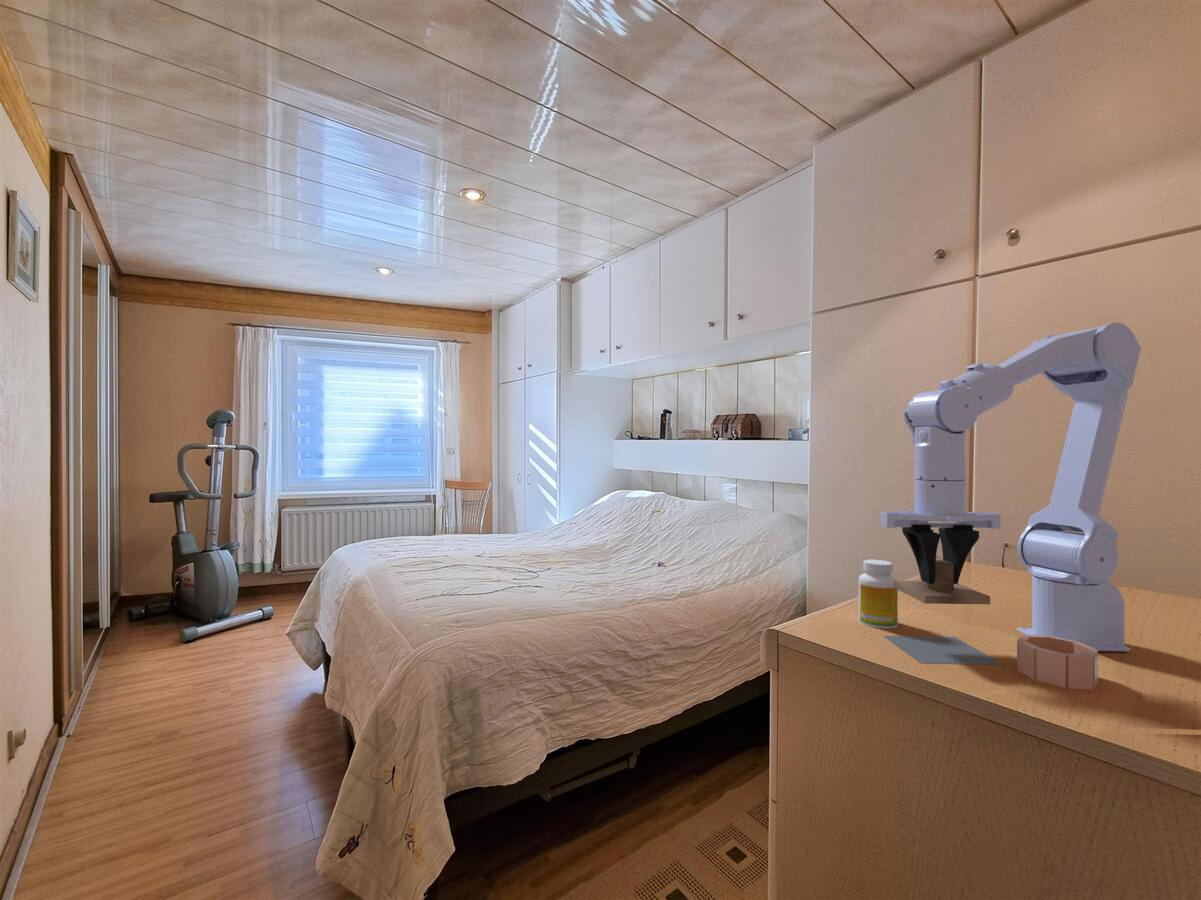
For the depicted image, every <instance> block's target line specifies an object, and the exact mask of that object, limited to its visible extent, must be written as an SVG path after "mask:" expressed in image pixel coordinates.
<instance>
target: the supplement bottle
mask: <svg viewBox="0 0 1201 900" xmlns="http://www.w3.org/2000/svg"><path fill="white" fill-rule="evenodd" d="M863 571H864V573H862V574H860V575H859V577H858V583H857V584H858V598H857V599H858V600H857V601H858V603H857V605H858V606H857V608H858V609H857V612H858V613H857V616H858V622H859V623H860V624H861V625H864V626H866V627H870V628H871V627H872V628H877V629H895V628H897V627H898V623H899V622H898V619H899V617H898V613H899V611H898V609H899V608H898V606H899V605H898V603H899V599H898V597H899V596H898V594H899V593H898V592H899V590H897V589H895V588H894V581H898V580H897V578H896V577H894V576H893V575H892V574H893V563H892V562H890V561H888V560H881V559H864V560H863Z"/></svg>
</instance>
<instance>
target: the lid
mask: <svg viewBox="0 0 1201 900" xmlns="http://www.w3.org/2000/svg"><path fill="white" fill-rule="evenodd" d="M894 588H895V589H897V590H898V592H899V591H900V592H901V593H903V594H904V595H905V594H906V595H907V596H909V597H911V598H914V599H916V600H917V601H919V602H921V603H923V604H924V605H925V604H936V605H940V604H941V605H942V604H943V605H991V595H988V594H985V593H983V592H980V591H977V590H975V589H972V588H970V587H968V586H965V585H963V584H960V583H958V584H954V564H953V563H950V562H947V561H945V560H943V559H936V578H935V582H934V584H929V583H926V582H924V581H922V580H897V581H894Z"/></svg>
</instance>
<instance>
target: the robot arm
mask: <svg viewBox="0 0 1201 900" xmlns="http://www.w3.org/2000/svg"><path fill="white" fill-rule="evenodd" d="M1141 350H1142V347H1141V345H1140V344H1139V341H1138V340H1137V338H1136V336H1135V334H1134V332H1133V331H1132V330H1131V328H1130V327H1128V326H1127V325H1126V324H1124V323H1121V322H1112V323H1107V324H1105V325H1102V326H1096V327H1090V328H1087V329H1081V330H1077V331H1070V332H1065V333H1061V334H1051V335H1046V336H1045V337H1043V338H1041V339H1037V340H1035V341H1033V342H1031V345H1029V346H1028V347H1026V348H1024V349H1022V350H1021V351H1019V352H1018V353H1016V354H1014V355H1013V356H1011V357H1010V358H1008V359H1007V360H1005V361H1003V362H1001V363H1000V364H998V365H997V364H993V363H982V362H979V363H978V362H977V363H973V364H971V365H969V366H967V367H965V369H966V372H964V373H963V374H962V375H959V376H957V377H956V378H953V379H951V378H950V379H945V380H943V381H941V382H940V383H939V387H938V388H937V389H934V390H928V391H927V390H926V391H921V392H920V393H917V394H915V395H914V397H912V398H911V400H910V401H909V404H908V406H907V409H906V411H903V418H904V421H905V424H906V426H907V427H908V428H909V430H910V435H911V442H912V443H913V445H914V510H905V511H903V510H901V511H880V516H879V517H880V522H879V523H880V524H879V525H880V526H881V527H883V528H886V529H895V528H901V529H902V533H903V536H904V537H905V539H906V541H907V543H908V544H909V546H910V548H911V550H912V553H913V555H914V558H915V560H916V561H915V562H916V564H917V567H918V572H919V577H920V581H924V582H926V583H929V584H934V582H935V578H936V560H937V551H938V546H939V542H941V543H940V544H941V548H942V549H941V550H942V560H945V561H947V562H950V563H953V564H954V584H959V580H960V577H961V573H962V570H963V568H964V565H965V562H966V560H967V558H968V556H969V554H970V552H971V550H972V548H973V547H974V546H975V545H976V543H977V542H978V540H979V539H980V531H979V530H975V529H987V528H988V529H993V530H994V529H996V530H999V529H1001V513H995V512H987V511H986V512H978V511H977V512H976V511H966V431H969V430H971V429H972V428H973V427H974V426H975V424H976V422H977V419H978V418H979V416H980V415H982V414H984V413H986V412H987V411H990V410H991V409H993V408H995V407H997V406H999V405H1000V404H1002V403H1004V402H1006V401H1007V400H1009V399H1010V398H1011V397H1012V395H1013V392H1014V389H1015V388H1014V387H1015V386H1017V385H1019V384H1021V383H1023V382H1026V381H1028V380H1030V379H1032V378H1034V377H1036V376H1039V375H1040V374H1041V375H1042V376H1043V377H1045V378H1046V379H1047V381H1049V382H1050V383H1051V384H1052V385H1053V386H1054V387H1055V389H1057V390H1058V391H1059V392H1060V393H1061V394H1062V395H1065V396H1068V397H1070V398H1071V399H1072V400H1073V402H1074V405H1073V409H1072V413H1071V418H1070V421H1069V425H1068V430H1067V434H1066V438H1065V441H1064V446H1063V449H1062V453H1061V458H1060V462H1059V466H1058V468H1057V469H1058V471H1057V474H1056V478H1055V482H1054V485H1053V489H1052V494H1051V499H1050V502H1049V505H1047V506H1046V507H1044V508H1042V509H1040V510H1039V511H1037V512H1035V513H1034V514H1031V515H1030V516H1029V519H1028V523H1027V526H1026V528H1025V529H1024V530H1023V532H1022V533H1021V534H1020V536H1019V538H1018V541H1017V545H1016V547H1017V554H1018V558H1019V560H1020V561H1021V563H1022V564H1023V565H1024V566H1026V568H1027V571H1026V572H1027V573H1028V574H1031V576H1032V579H1031V580H1032V584H1031V586H1032V588H1031V589H1032V590H1031V591H1032V595H1031V596H1032V599H1031V604H1032V605H1031V608H1032V609H1031V611H1032V613H1031V614H1032V615H1031V617H1032V619H1031V621H1032V622H1031V623H1032V624H1031V625H1032V626H1031V627H1030V628H1029V627H1017V628H1016V631H1018V632H1020V633H1022V634H1023V635H1046V636H1048V635H1049V636H1054V637H1059V638H1064V639H1069V640H1074V641H1076V642H1080V643H1083V644H1085V645H1087V646H1090V647H1092V648H1094V649H1097V650H1098V652H1130V651H1131V648H1130V647H1128V646H1126V645H1125V608H1126V607H1125V606H1126V605H1125V601H1124V597H1123V595H1122V593H1121V590H1119V588H1118V587H1117V586H1116V585H1115V584H1113V583H1112V582H1110V581H1108V580H1109V579H1110V578H1111V577H1112V576H1113V574H1115V572H1116V570H1117V568H1118V564H1119V554H1118V546H1117V543H1118V542H1117V541H1118V538H1119V532H1118V531H1117V529H1115V527H1113V526H1112V525H1111V524H1110V523H1109V522H1108V521H1107V520H1106V519H1104V518H1103V517H1102V516H1101V515H1100V511H1101V507H1102V503H1103V499H1104V495H1105V491H1106V487H1107V482H1108V478H1109V473H1110V471H1111V465H1112V461H1113V458H1114V455H1115V454H1114V453H1115V450H1116V445H1117V443H1118V442H1117V441H1118V437H1119V433H1120V430H1121V426H1122V421H1123V416H1124V414H1125V409H1126V404H1127V400H1128V395H1129V389H1131V388H1132V386H1133V383H1134V379H1135V374H1136V371H1137V366H1138V364H1139V363H1138V362H1139V358H1140V355H1141ZM933 522H934V523H933ZM938 522H939V523H938ZM941 522H942V523H941ZM948 522H949V523H948ZM932 528H938V529H937V530H938V533H937V532H934V529H932ZM974 528H975V529H974Z"/></svg>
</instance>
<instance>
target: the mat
mask: <svg viewBox="0 0 1201 900" xmlns="http://www.w3.org/2000/svg"><path fill="white" fill-rule="evenodd" d="M883 638H884V639H886V640H888V642H890V643H892V644H893V645H895V646H896V647H897V648H899V649H900V650H901V651H902V652H904V653H905V654H907V655H908V656H910V657H911V658H913V659H914V660H915V661H917V662H918V663H919V664H928V665H929V664H930V665H931V664H933V665H935V664H937V665H975V666H976V665H981V666H985V665H987V666H1004V664H1003V663H1001V662H999V660H998V661H997V660H996V659H995V658H994V657H991V656H989V655H988V654H986V653H984V652H982V651H981V650H979V649H977V648H975V647H973V646H971V645H970V644H968V643H966V642H964V641H963V640H961V639H959V638H958V637H956V636H930V635H929V636H925V635H924V636H922V635H920V636H919V635H918V636H917V635H883Z"/></svg>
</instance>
